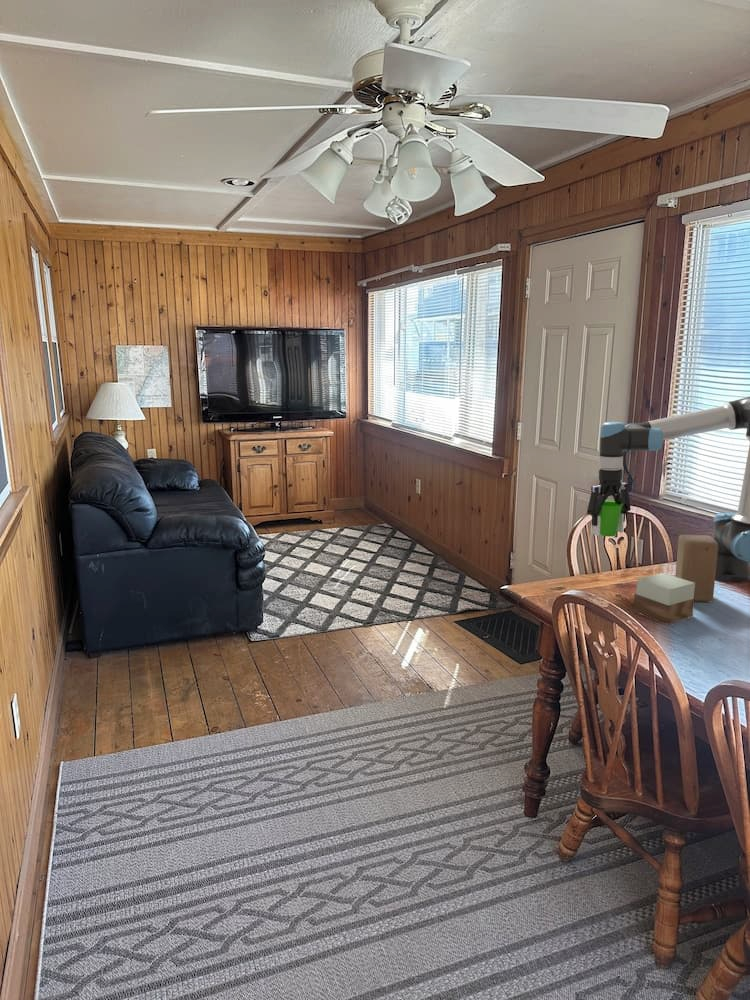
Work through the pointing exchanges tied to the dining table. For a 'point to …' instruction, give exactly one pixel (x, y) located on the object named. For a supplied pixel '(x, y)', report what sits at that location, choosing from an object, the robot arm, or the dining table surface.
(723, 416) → the robot arm
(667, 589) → the tower top
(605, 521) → the cup
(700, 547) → the wooden block
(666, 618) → the tower base
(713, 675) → the dining table surface
